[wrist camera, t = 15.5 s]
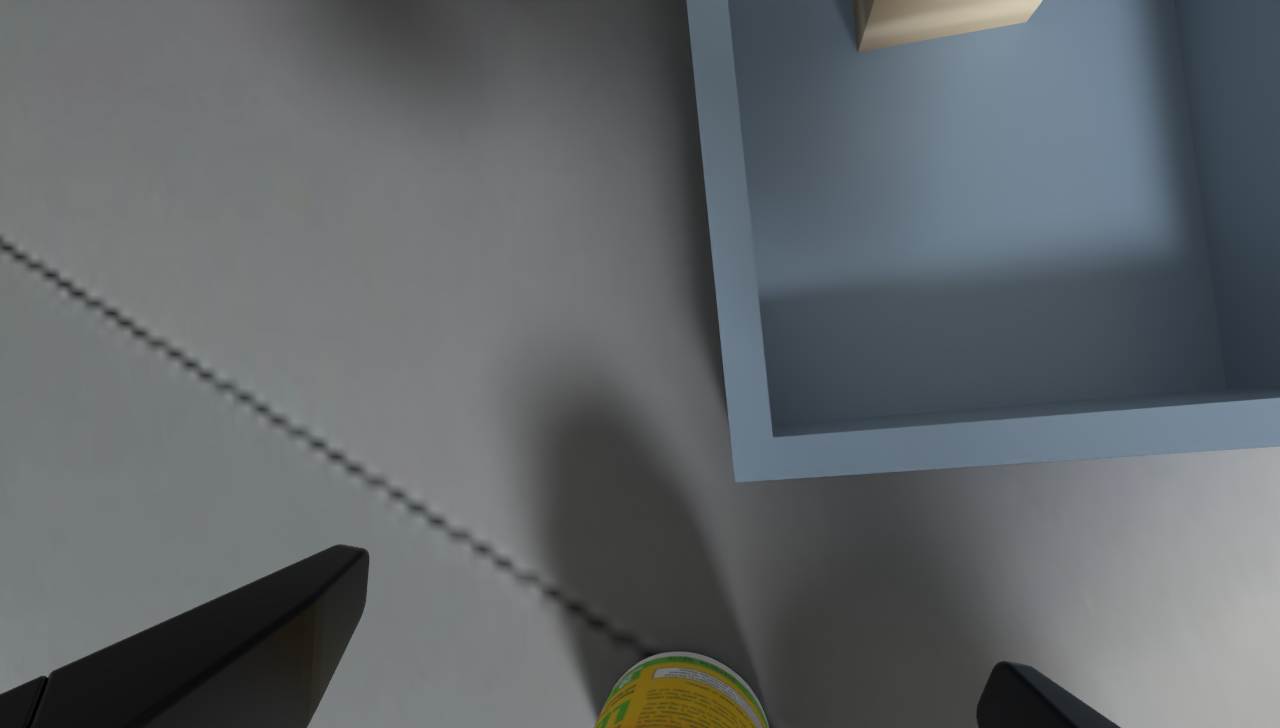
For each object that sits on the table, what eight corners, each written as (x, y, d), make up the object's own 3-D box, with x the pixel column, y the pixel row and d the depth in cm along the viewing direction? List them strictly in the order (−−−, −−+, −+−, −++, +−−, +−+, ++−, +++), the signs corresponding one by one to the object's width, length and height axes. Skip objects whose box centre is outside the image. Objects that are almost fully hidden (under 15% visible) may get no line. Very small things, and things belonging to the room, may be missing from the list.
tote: (1246, 420, 17) (1439, 436, 13) (739, 457, 20) (734, 482, 15) (1161, -198, 18) (1311, -411, 13) (684, -89, 21) (663, -234, 16)
